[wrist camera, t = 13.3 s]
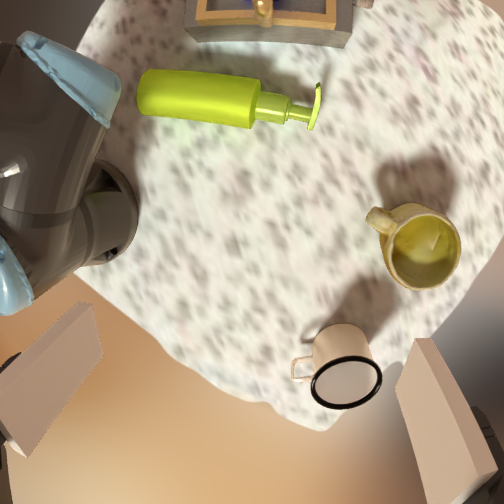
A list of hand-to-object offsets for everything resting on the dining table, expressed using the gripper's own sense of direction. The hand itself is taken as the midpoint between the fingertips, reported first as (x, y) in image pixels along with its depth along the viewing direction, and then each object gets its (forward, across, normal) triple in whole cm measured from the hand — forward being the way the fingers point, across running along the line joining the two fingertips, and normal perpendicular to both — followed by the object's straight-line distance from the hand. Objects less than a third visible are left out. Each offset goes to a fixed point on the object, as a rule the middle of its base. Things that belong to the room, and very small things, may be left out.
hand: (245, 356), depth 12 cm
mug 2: (+29, +16, -1) cm, 33 cm away
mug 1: (+29, +10, -20) cm, 37 cm away
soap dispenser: (+26, -16, +14) cm, 33 cm away
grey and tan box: (+29, -1, +28) cm, 40 cm away
